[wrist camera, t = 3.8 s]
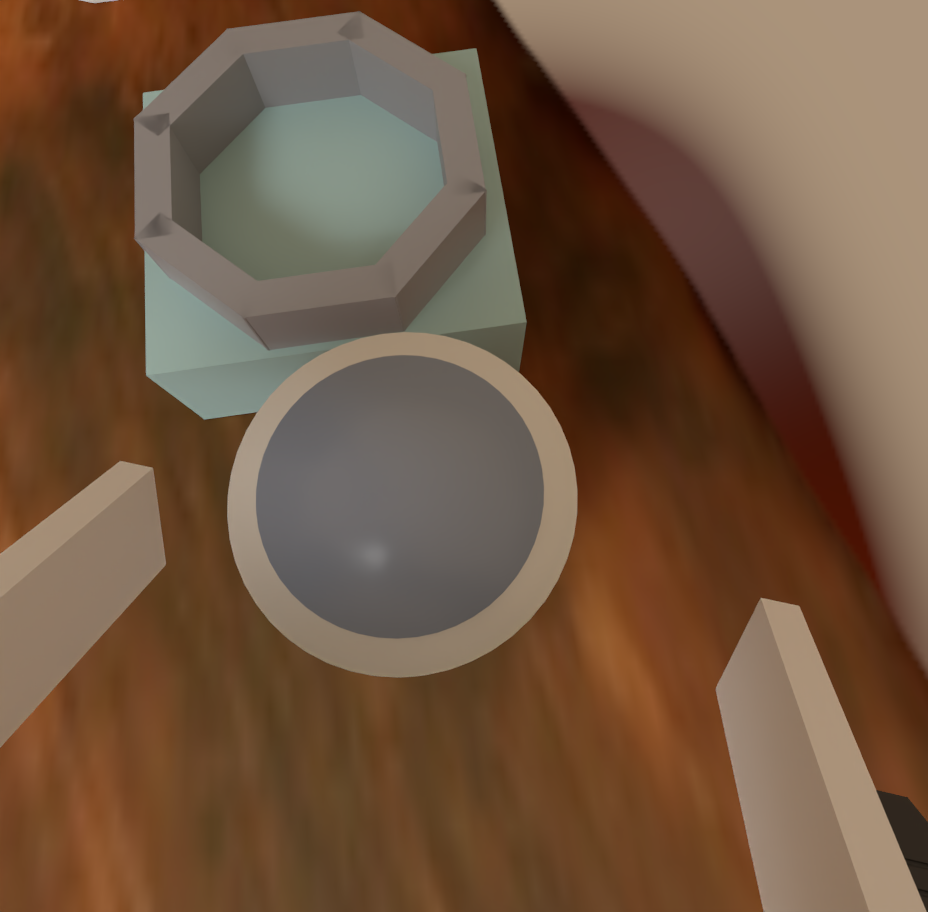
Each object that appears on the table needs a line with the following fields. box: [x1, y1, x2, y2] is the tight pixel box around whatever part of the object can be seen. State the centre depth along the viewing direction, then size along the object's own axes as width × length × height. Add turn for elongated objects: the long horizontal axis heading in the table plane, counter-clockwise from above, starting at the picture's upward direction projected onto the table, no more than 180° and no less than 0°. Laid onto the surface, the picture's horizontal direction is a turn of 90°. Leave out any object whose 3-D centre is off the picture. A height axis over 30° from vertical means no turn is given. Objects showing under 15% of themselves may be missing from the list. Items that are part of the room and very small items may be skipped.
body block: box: [134, 11, 527, 419], centre depth 21 cm, size 10×11×6 cm
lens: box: [227, 332, 577, 678], centre depth 15 cm, size 6×6×11 cm
